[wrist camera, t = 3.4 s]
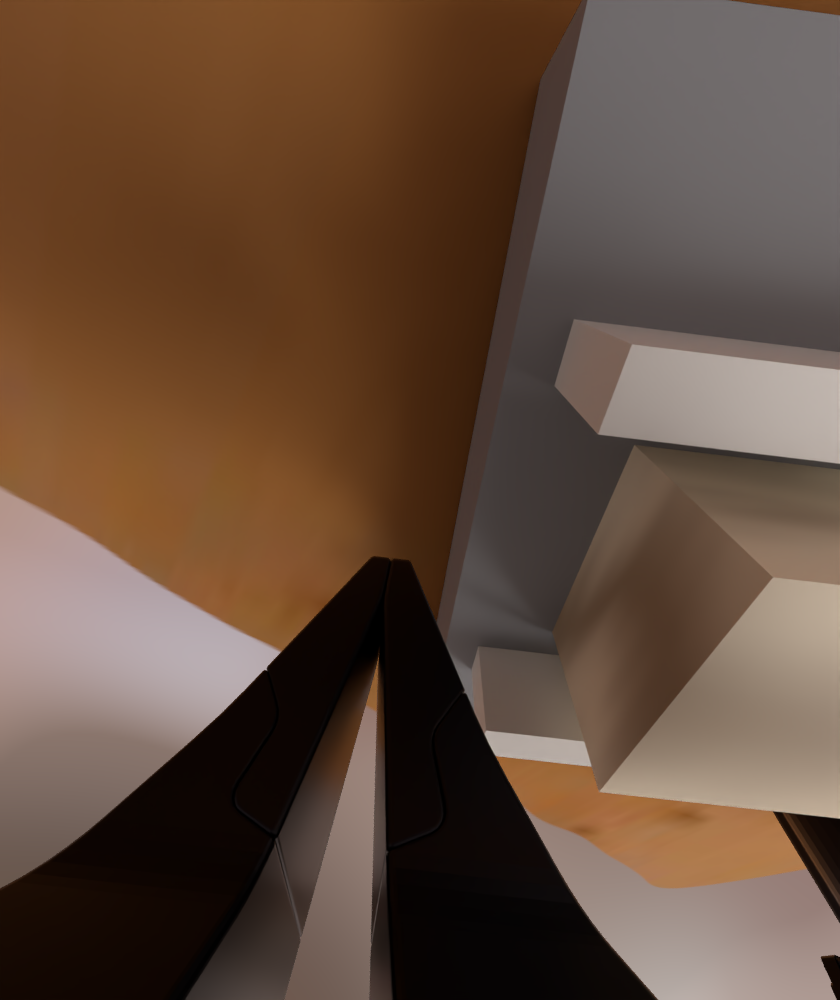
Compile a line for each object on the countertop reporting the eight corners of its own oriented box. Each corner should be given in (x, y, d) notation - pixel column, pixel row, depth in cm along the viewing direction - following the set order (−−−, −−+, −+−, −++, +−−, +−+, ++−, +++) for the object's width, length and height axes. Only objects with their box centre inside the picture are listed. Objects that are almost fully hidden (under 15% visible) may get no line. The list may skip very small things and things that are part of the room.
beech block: (752, 655, 11) (885, 823, 8) (552, 631, 11) (599, 791, 8) (912, 478, 8) (1249, 633, 5) (634, 444, 8) (772, 576, 5)
